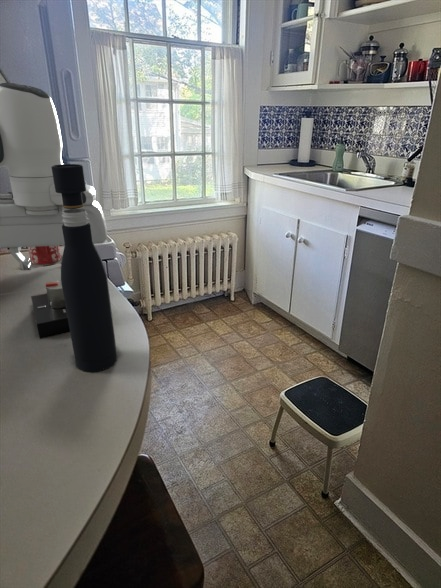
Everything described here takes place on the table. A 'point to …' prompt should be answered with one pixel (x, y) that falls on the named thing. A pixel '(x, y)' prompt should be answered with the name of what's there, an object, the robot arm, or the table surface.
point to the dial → (55, 294)
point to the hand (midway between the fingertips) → (54, 267)
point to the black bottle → (83, 278)
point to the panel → (49, 317)
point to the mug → (44, 254)
